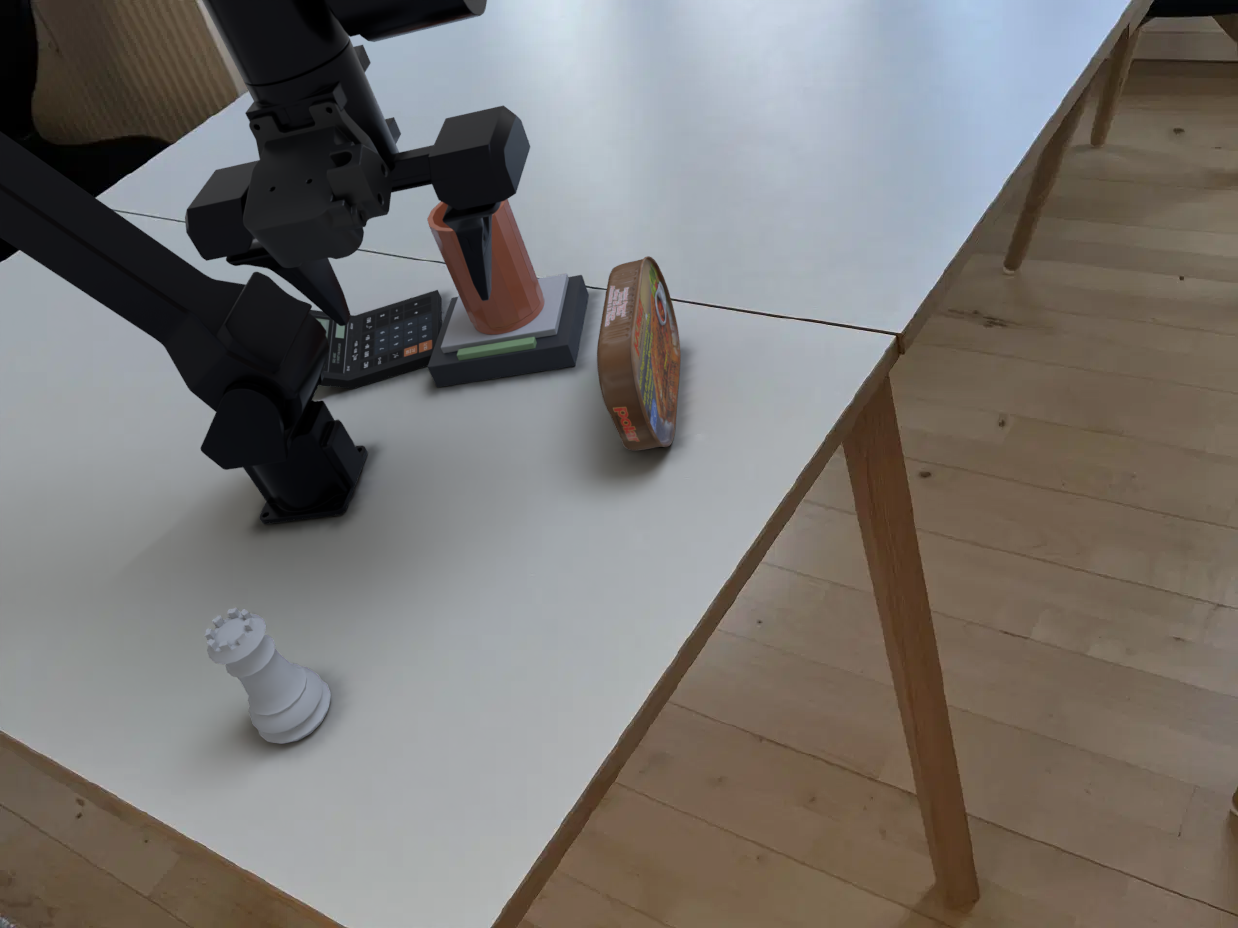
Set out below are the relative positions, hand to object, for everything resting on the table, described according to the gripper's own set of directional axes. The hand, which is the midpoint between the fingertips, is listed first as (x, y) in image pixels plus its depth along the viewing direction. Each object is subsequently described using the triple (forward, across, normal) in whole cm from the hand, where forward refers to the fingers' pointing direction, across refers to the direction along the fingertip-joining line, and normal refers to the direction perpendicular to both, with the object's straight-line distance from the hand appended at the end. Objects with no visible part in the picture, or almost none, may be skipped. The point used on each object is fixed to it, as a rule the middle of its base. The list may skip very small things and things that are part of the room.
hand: (415, 309), depth 64 cm
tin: (+13, +11, +4) cm, 18 cm away
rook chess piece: (+13, -8, -19) cm, 25 cm away
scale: (+13, 0, +14) cm, 19 cm away
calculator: (+13, -13, +16) cm, 24 cm away
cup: (+10, 0, +14) cm, 18 cm away
